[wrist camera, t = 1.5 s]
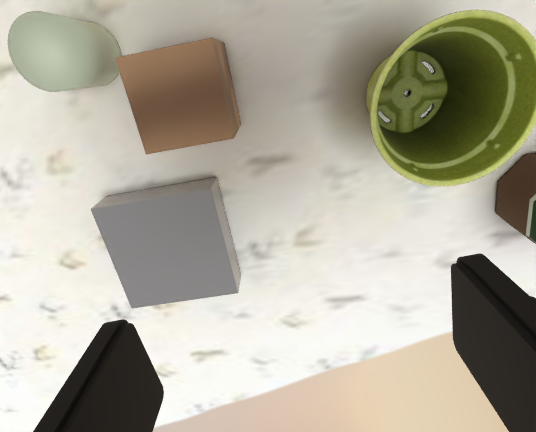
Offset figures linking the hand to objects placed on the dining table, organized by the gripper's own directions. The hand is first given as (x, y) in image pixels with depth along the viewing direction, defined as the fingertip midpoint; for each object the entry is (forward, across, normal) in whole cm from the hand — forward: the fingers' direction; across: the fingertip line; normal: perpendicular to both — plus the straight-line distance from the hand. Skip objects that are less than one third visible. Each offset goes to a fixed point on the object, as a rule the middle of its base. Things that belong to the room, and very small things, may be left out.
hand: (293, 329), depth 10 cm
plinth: (+21, +11, +5) cm, 24 cm away
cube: (+21, +5, -6) cm, 23 cm away
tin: (+21, +12, -11) cm, 27 cm away
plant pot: (+21, -10, -3) cm, 24 cm away
